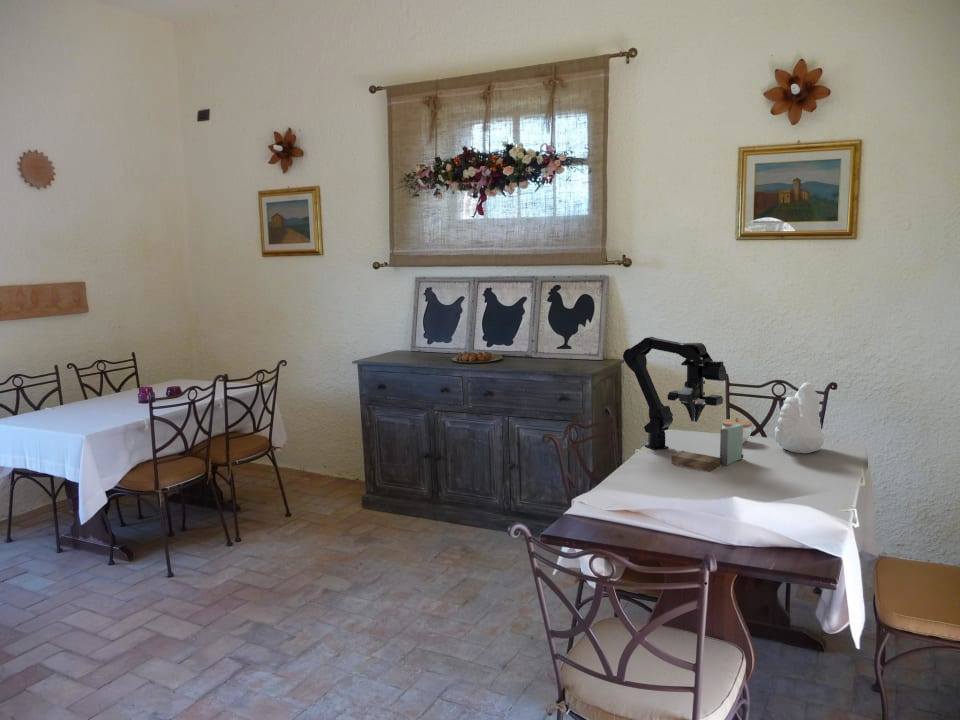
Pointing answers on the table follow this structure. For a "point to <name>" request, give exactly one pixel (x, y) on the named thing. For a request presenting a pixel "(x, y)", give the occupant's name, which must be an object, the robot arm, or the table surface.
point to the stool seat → (695, 460)
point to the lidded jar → (745, 423)
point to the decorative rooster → (800, 422)
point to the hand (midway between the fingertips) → (694, 421)
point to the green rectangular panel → (731, 444)
